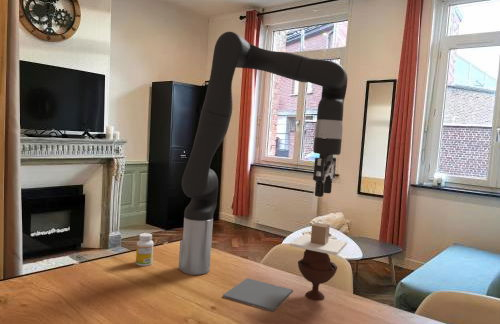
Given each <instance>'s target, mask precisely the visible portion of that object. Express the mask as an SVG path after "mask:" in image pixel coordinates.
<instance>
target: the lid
mask: <svg viewBox="0 0 500 324" xmlns="http://www.w3.org/2000/svg"><path fill="white" fill-rule="evenodd" d="M329 236H330V224H327V223H322V222H321V223H320V222H315V223H312V225H311V233H310V234H307V233H304V234H303V233H302V235H300V236H299V237H297V238H296V239H294V240H293V241H291V242H290V243H289V247H293V248H298V249H303V250H306V249H307V250H312V251H317V252H322V253H327V254H328V255H334V256H338V255H339V254H340V253H341V251H343V249H344V248H345V247H346V246H347V245H348V241H346V240H340V239H335V238H330V237H329Z"/></svg>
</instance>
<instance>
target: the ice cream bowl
mask: <svg viewBox="0 0 500 324" xmlns="http://www.w3.org/2000/svg"><path fill="white" fill-rule="evenodd" d="M297 265H298V270H299V272H300V273H301V275H302V276H303V277H304V279H305V280H307V282H310V283H311V284H312V287H311V288H312V289H310V290H308V291H307V292H306V293H305V295H304V296H305V297H306V299H308V300H311V301H316V302H320V301H323V300H324V299H326V298H325V295H324V294H323V293H322V292H321V291H320V290H319V287H320V284H321V285H323V284H325V283H327V282H329V281H330V280H331V279H332V278H333V277H334V276H335V274H336V273H337V270H338V266H337V265H336V264H335V263H334V262H333V261H331V258H330V254H327V253H322V252H317V251H312V250H307V249H304V253H303V257H302V258H301V259H300V260H298V261H297Z"/></svg>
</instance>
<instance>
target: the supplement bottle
mask: <svg viewBox="0 0 500 324" xmlns="http://www.w3.org/2000/svg"><path fill="white" fill-rule="evenodd" d="M138 239H139V240H138V241H137V242H136V254H135V264H136V265H138V266H141V267H145V266H151V265H152V264H154V263H153V262H154V243H155V242H154V241H153V240H152V239H153V234H152V233H149V232H144V233H140V234H139V238H138Z"/></svg>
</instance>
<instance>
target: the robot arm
mask: <svg viewBox="0 0 500 324" xmlns="http://www.w3.org/2000/svg"><path fill="white" fill-rule="evenodd" d="M236 68H238V69H249V70H257V71H263V72H267V73H268V74H273V75H277V76H278V77H282V78H285V79H289V80H292V81H296V82H299V83H300V82H301V83H304V84H305V83H306V84H307V83H310V84H313V85H316V86H320V87H321V88H322V89H321V95H320V96H321V99H320V100H319V102H318V104H317V112H316V122H315V128H314V137H313V148H312V149H313V150H312V152H313V153H314V154H319V156H318V157H315V158H314V165H313V176H312V180H313V181H314V182H315V188H314V196H315V197H319V198H322V197H324V194H331V193H332V188H333V187H332V185H333V181H334V179H335V177H336V168H337V165H336V164H337V157H334V156H339V155H341V153H342V152H341V151H342V141H343V131H344V130H343V120H344V119H343V118H344V103H345V98H346V94H347V87H348V74H347V72H346V70H345V69H344V67H343V66H342V65H341V64H340V63H337V62H334V61H331V60H326V59H318V58H311V57H308V56H305V55H301V54H298V53H291V52H288V51H287V52H286V51H274V50H269V49H265V48H261V47H259V46H256V45H254V44H252V43H250V42H248V41H247V40H246V39H245V38H244V37H243V36H241V35H239V34H237V33H236V32H235V31H234V32H233V31H225V32H224V33H222V34H221V35H220V36H219V37H218V39H216V43H215V45H214V50H213V56H212V62H211V70H210V75H209V76H210V77H209V81H208V84H207V88H206V91H205V92H206V93H205V97H204V100H203V105H202V109H201V112H200V116H199V121H198V124H197V125H198V126H197V130H196V134H195V138H194V141H193V145H192V148H191V152H190V156H189V158H188V161H187V164H186V165H185V166H186V167H185V169H184V172H183V174H182V178H181V188H182V191H183V193H184V195H186V197H188V198H191V200H190V202H189V203H188V205H187V206H186V207H185V209H184V212H183V213H184V214H183V216H184V217H183V231H182V233H183V234H182V239H180V241H179V255H178V256H179V257H178V270H180V271H182V273H183V274H188V275H196V276H197V275H204V274H207V273H209V272H210V271H211V258H212V255H211V254H212V243H213V242H212V239H213V223H214V214H215V211H216V208H217V202H218V193H219V179H218V176H217V173H216V172H215V171H214V170H213V169H211V164H212V160H213V158H214V156H215V153H216V152H217V150H218V148H219V147H220V146H221V144H222V142H223V140H224V138H225V137H226V135H227V132H228V129H229V127H230V123H231V118H232V114H233V91H232V88H233V87H232V86H233V85H232V83H233V78H234V75H235V71H236Z"/></svg>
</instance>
